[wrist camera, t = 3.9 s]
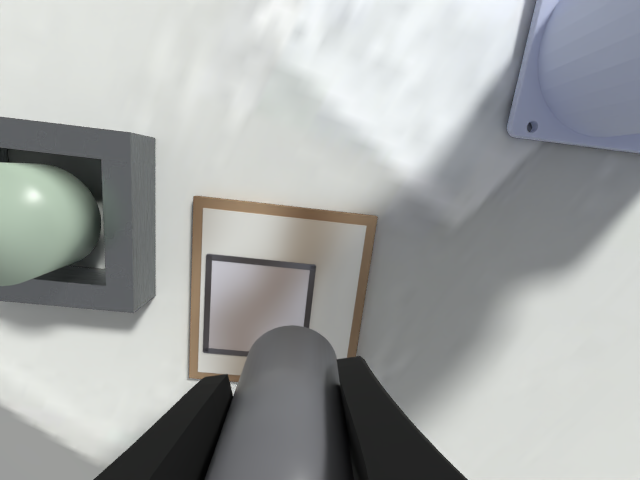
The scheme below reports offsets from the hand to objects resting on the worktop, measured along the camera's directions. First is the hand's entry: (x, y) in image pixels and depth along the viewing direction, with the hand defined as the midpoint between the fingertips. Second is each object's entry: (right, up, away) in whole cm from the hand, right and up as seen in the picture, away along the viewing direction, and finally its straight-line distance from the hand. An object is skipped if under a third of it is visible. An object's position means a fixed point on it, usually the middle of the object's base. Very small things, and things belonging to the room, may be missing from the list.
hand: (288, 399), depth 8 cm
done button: (-11, +5, +6) cm, 14 cm away
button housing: (-11, +6, +7) cm, 14 cm away
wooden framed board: (-1, +1, +8) cm, 9 cm away
